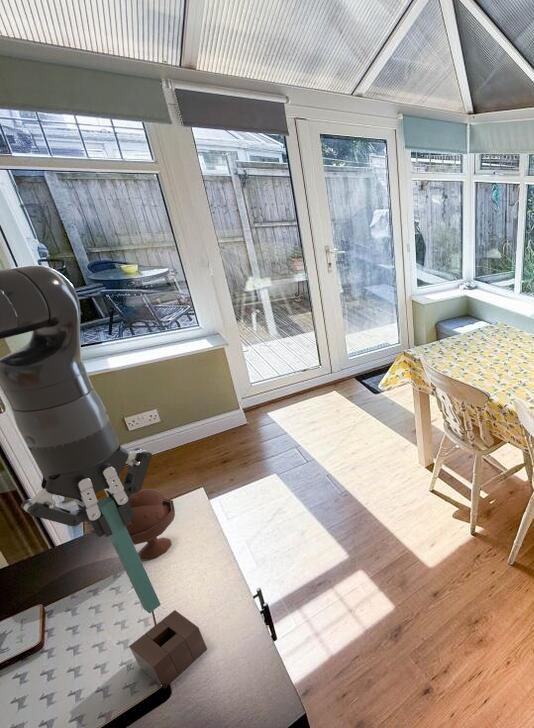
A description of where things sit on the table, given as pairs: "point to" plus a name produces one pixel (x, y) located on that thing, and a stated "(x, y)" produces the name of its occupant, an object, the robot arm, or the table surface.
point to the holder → (168, 648)
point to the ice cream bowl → (150, 521)
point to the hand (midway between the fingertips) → (115, 528)
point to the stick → (129, 555)
